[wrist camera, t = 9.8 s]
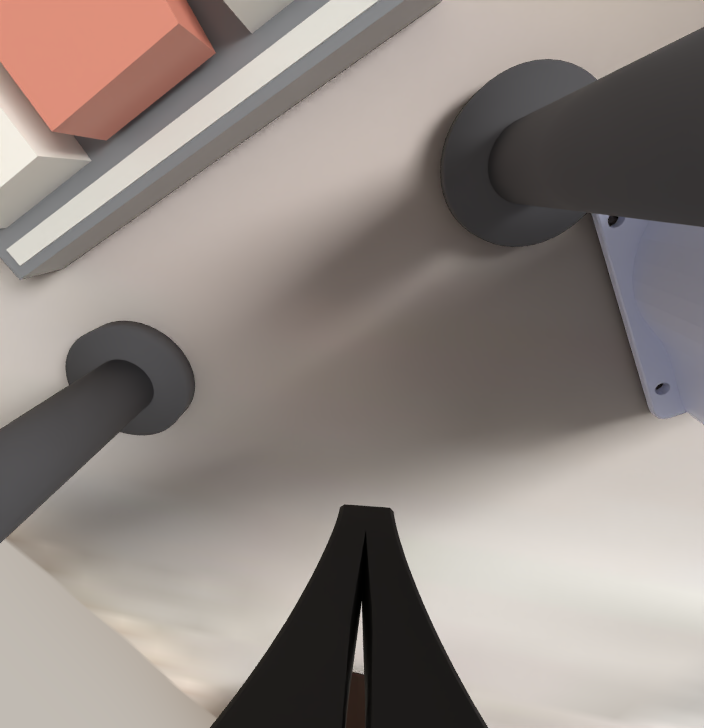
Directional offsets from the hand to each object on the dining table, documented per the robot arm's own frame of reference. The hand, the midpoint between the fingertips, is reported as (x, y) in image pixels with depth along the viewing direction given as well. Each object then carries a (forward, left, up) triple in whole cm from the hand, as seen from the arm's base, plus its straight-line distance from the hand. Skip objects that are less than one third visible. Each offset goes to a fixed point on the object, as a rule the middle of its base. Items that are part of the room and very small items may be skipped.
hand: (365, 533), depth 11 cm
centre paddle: (+14, 0, -5) cm, 15 cm away
